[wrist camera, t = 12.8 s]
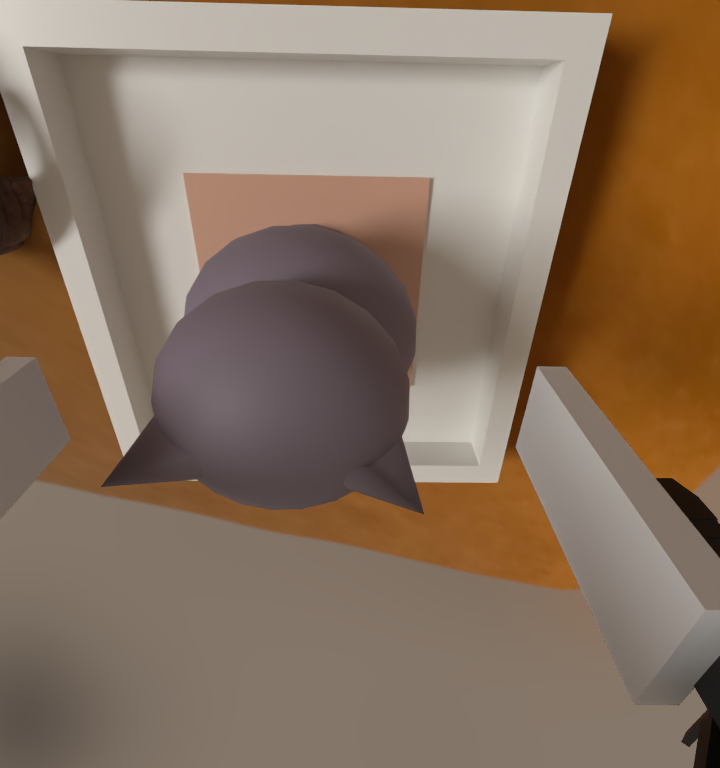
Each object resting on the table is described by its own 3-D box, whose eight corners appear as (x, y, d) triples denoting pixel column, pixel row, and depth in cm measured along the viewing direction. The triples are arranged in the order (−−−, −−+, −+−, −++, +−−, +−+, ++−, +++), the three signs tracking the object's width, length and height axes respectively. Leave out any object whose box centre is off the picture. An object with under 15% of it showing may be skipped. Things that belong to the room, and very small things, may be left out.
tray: (571, 30, 16) (612, 13, 14) (483, 447, 27) (497, 482, 24) (30, 16, 16) (-32, -4, 13) (153, 444, 26) (131, 479, 24)
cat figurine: (420, 217, 19) (501, 338, 8) (389, 376, 23) (418, 589, 12) (216, 188, 18) (32, 280, 8) (221, 357, 22) (105, 566, 12)
